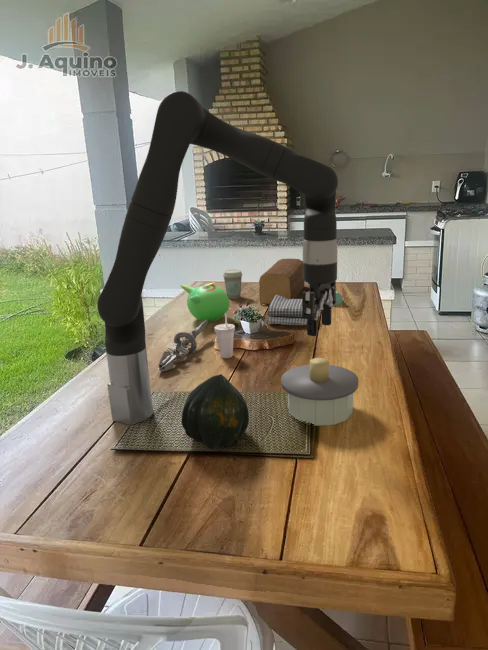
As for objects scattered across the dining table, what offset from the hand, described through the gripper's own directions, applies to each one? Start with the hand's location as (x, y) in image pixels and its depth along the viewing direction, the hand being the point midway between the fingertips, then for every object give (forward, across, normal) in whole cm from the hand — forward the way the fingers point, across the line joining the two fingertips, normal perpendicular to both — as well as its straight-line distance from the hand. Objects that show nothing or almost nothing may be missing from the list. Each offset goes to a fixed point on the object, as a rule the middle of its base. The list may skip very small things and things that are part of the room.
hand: (319, 330), depth 117 cm
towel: (+21, +65, +38) cm, 78 cm away
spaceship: (+21, +18, +53) cm, 60 cm away
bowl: (+20, 0, 0) cm, 20 cm away
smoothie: (+21, +22, +40) cm, 50 cm away
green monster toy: (+21, +52, +67) cm, 87 cm away
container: (+20, +99, +34) cm, 107 cm away
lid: (+13, 0, 0) cm, 13 cm away
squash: (+21, -22, +16) cm, 34 cm away
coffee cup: (+21, +85, +75) cm, 115 cm away
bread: (+21, +96, +56) cm, 113 cm away
